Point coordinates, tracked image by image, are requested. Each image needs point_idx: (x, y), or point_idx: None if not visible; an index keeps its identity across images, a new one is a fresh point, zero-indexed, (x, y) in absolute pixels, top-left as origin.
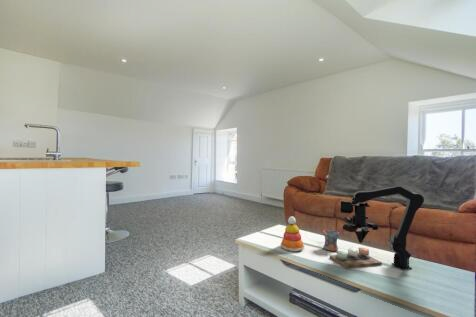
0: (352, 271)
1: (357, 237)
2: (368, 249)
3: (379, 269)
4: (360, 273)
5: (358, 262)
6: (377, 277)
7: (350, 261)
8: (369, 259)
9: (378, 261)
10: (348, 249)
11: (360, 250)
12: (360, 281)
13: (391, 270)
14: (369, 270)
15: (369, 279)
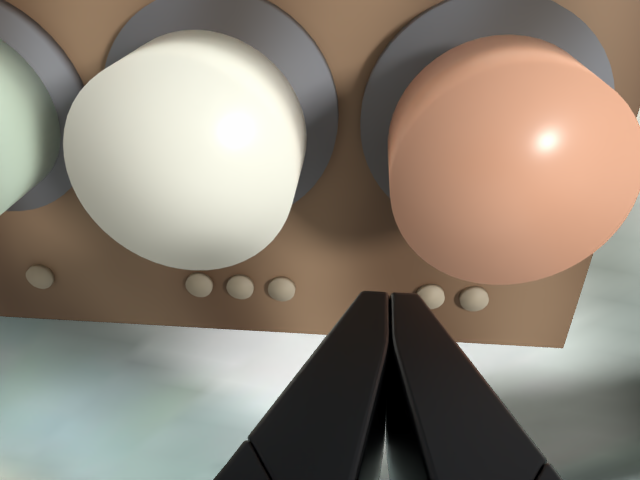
0: (35, 349)
1: (273, 411)
2: (623, 221)
3: None
4: (103, 394)
5: (187, 288)
6: None
7: (85, 229)
8: None
9: (544, 320)
10: (75, 117)
11: (391, 184)
12: (23, 474)
13: None
14: (254, 374)
15: (124, 474)
